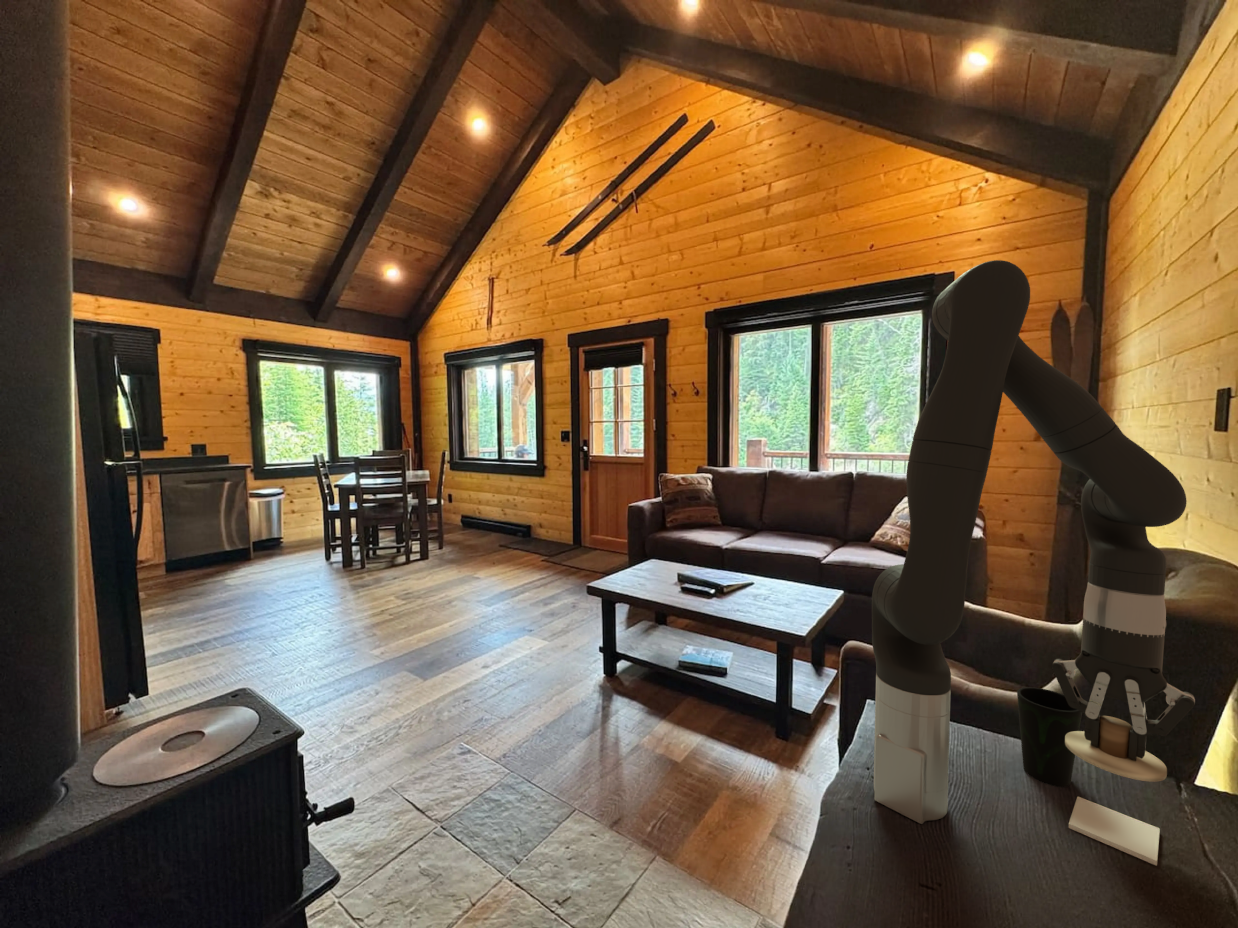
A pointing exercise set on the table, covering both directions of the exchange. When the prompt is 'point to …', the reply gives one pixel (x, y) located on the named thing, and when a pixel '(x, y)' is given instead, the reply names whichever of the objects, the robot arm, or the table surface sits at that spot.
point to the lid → (1115, 752)
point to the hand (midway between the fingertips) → (1113, 750)
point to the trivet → (1116, 830)
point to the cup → (1046, 735)
